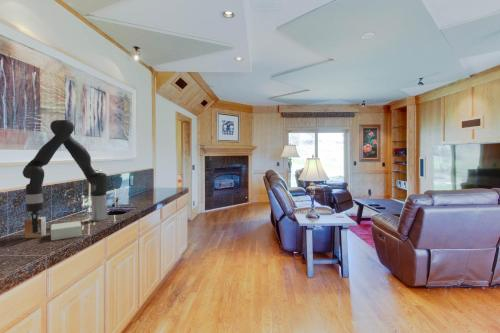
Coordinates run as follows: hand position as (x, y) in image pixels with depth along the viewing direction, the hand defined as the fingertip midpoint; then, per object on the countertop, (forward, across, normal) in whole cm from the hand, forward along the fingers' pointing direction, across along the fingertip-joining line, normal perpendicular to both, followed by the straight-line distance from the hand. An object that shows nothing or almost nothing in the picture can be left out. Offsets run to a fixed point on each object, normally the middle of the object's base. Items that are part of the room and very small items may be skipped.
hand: (35, 231), depth 152 cm
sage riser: (+4, -7, -14) cm, 16 cm away
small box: (+3, 0, 0) cm, 3 cm away
